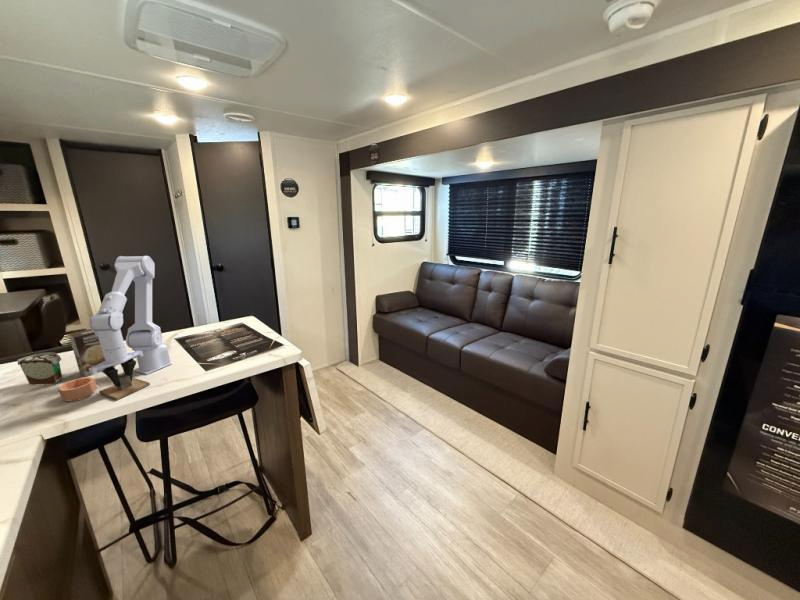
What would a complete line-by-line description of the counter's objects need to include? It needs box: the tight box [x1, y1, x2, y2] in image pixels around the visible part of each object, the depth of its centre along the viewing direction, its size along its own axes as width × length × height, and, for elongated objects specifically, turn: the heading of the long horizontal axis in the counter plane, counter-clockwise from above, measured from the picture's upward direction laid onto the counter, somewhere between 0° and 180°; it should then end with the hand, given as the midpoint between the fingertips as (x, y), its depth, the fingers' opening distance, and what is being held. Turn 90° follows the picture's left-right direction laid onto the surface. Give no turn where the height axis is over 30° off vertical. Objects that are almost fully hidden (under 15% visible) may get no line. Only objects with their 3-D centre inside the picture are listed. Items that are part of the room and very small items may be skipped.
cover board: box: [98, 373, 151, 401], centre depth 109 cm, size 10×10×5 cm
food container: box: [16, 352, 63, 386], centre depth 115 cm, size 12×6×10 cm, turn 92°
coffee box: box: [68, 328, 116, 377], centre depth 121 cm, size 9×6×16 cm
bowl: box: [57, 376, 98, 402], centre depth 106 cm, size 8×8×4 cm
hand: (123, 383), depth 109 cm, fingers closed on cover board, 3 cm apart
